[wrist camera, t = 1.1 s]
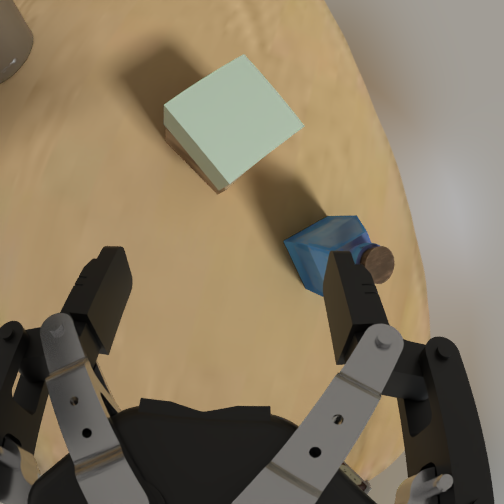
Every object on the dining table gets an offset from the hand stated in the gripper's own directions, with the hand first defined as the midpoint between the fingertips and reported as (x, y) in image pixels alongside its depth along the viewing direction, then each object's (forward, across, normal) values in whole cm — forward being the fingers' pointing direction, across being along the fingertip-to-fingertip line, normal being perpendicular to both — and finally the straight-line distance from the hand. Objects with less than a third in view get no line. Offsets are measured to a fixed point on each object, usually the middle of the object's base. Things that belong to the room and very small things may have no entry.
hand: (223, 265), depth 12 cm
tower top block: (+19, +2, +1) cm, 19 cm away
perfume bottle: (+20, -8, +15) cm, 26 cm away
